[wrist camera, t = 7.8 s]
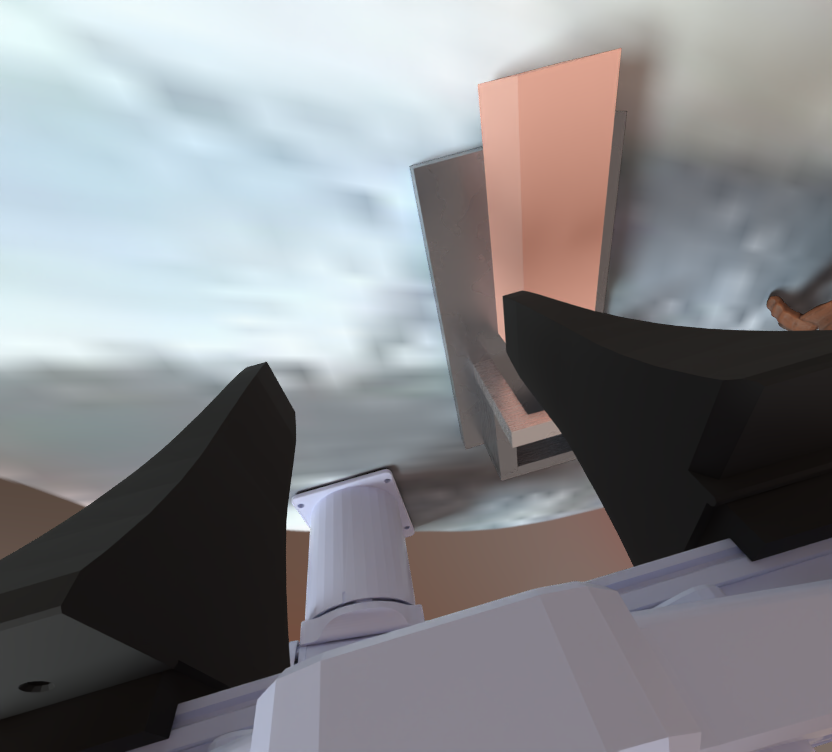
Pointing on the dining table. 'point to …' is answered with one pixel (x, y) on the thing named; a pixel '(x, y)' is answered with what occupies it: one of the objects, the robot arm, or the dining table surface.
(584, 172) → the copper rectangular block
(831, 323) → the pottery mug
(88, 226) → the dining table surface
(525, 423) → the dispenser
